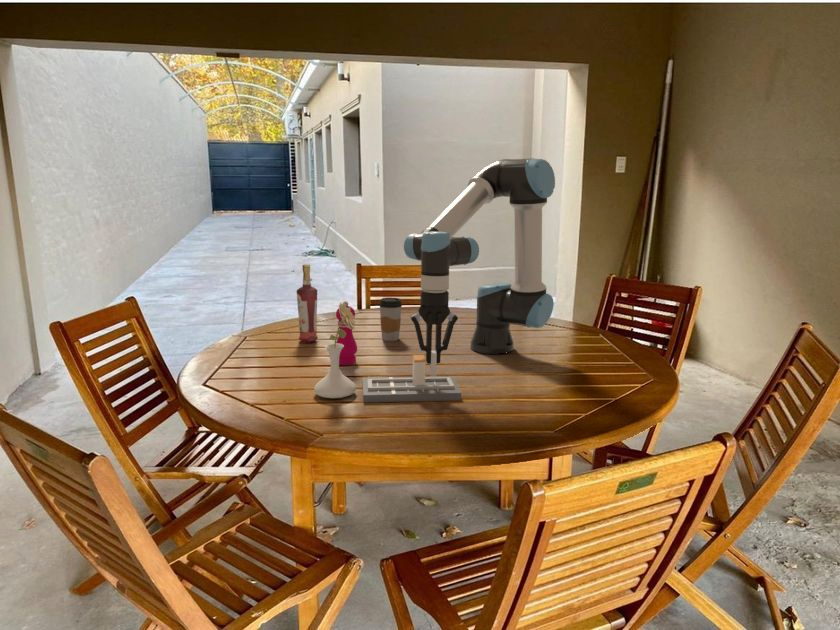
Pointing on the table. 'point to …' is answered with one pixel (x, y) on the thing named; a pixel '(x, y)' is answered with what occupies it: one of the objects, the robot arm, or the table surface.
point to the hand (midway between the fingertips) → (432, 374)
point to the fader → (418, 370)
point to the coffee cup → (390, 318)
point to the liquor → (307, 308)
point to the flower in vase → (337, 363)
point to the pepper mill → (346, 341)
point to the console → (410, 389)
